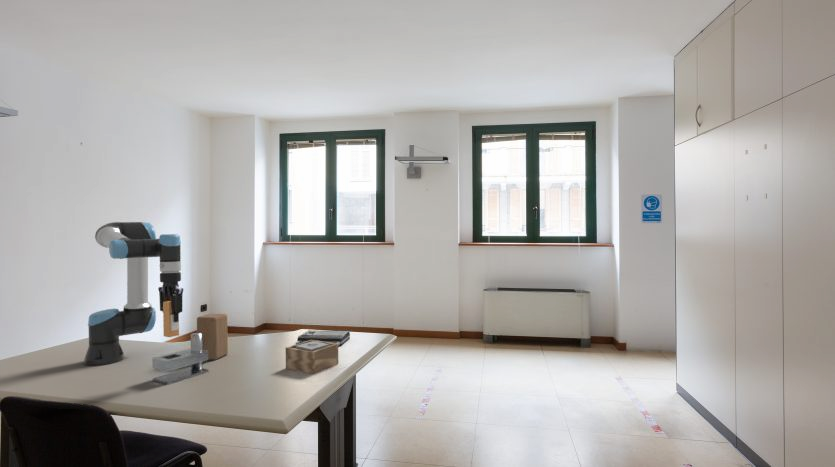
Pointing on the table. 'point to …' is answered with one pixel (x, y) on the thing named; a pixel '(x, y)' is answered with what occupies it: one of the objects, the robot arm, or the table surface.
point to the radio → (325, 336)
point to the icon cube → (312, 346)
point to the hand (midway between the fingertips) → (171, 329)
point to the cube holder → (311, 358)
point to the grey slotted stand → (182, 362)
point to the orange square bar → (168, 320)
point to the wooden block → (213, 334)
